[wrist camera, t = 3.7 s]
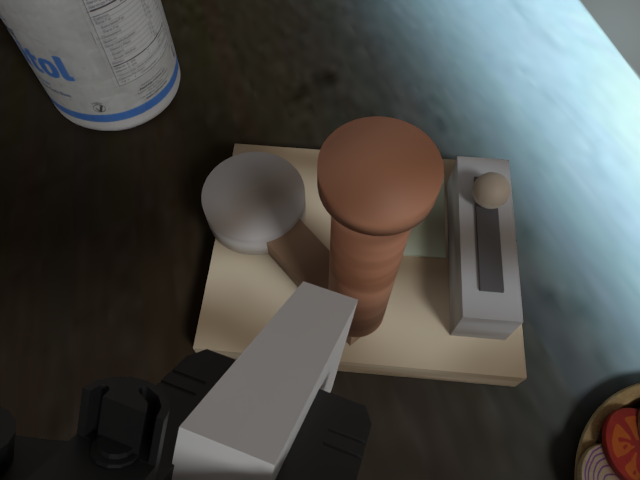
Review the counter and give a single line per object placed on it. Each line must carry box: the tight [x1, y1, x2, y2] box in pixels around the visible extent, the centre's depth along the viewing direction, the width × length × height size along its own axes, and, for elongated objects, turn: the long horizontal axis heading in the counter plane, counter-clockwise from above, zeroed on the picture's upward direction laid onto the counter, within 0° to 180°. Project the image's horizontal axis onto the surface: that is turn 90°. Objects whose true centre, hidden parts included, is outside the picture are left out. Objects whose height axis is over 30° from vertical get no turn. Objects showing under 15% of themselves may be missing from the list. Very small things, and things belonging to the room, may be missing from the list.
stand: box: [193, 144, 527, 387], centre depth 31 cm, size 14×18×7 cm
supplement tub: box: [0, 0, 180, 131], centre depth 34 cm, size 10×10×15 cm
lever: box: [201, 117, 444, 346], centre depth 25 cm, size 14×6×14 cm, turn 40°
